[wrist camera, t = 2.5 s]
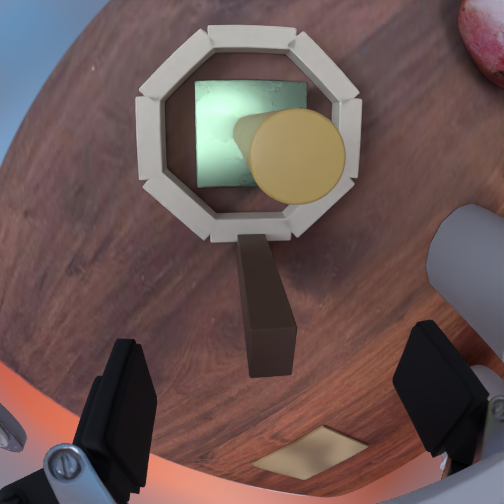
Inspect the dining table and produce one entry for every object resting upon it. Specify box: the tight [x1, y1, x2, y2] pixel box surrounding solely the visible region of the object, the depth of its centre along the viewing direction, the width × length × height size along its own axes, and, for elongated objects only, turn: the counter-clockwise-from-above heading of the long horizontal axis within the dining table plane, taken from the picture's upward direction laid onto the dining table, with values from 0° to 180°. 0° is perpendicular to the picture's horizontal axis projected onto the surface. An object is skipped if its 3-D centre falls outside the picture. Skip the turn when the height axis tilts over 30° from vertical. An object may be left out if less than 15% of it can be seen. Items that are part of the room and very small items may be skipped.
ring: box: [136, 25, 362, 378], centre depth 13 cm, size 14×12×10 cm
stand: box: [195, 79, 346, 205], centre depth 11 cm, size 6×6×12 cm
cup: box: [426, 203, 504, 363], centre depth 17 cm, size 8×8×10 cm
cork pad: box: [251, 425, 368, 480], centre depth 32 cm, size 11×11×1 cm
